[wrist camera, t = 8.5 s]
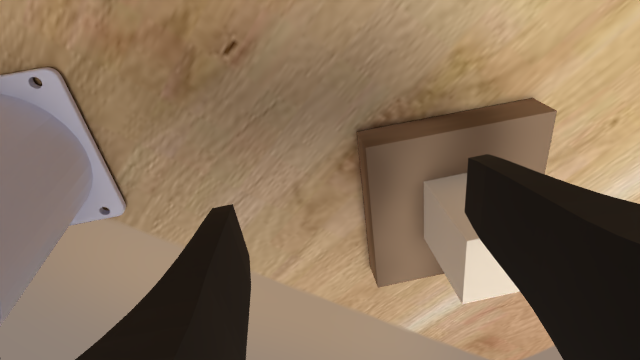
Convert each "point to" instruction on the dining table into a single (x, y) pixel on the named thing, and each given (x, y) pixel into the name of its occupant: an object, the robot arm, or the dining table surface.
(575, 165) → the dining table surface
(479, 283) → the off-white block
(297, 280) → the dining table surface
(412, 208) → the walnut plinth
